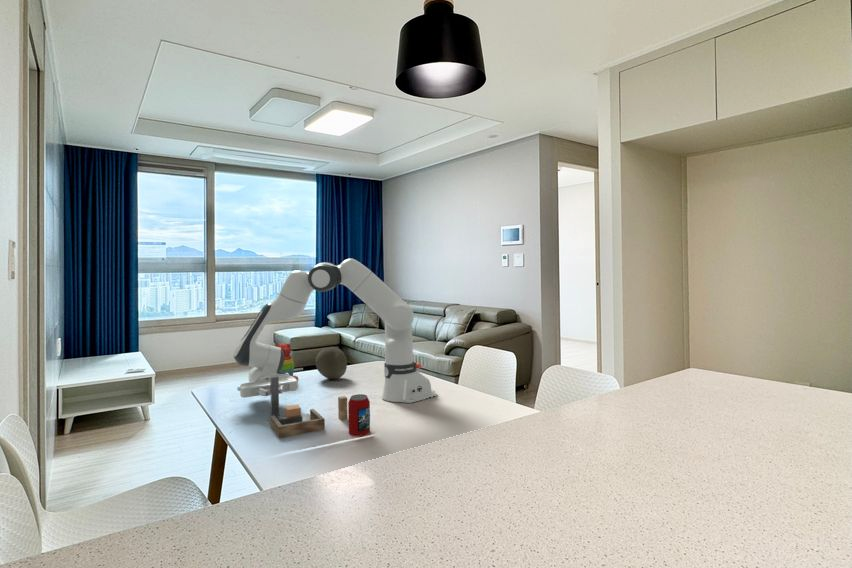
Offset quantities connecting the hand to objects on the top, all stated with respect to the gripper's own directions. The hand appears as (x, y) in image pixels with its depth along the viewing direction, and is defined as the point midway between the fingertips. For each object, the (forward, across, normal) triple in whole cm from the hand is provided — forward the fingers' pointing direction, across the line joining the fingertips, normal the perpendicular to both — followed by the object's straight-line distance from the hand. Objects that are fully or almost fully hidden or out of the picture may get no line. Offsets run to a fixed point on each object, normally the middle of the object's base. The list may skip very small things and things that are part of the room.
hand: (273, 392), depth 163 cm
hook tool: (+7, +3, +8) cm, 11 cm away
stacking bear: (-48, +15, +9) cm, 51 cm away
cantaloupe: (-40, +35, +9) cm, 54 cm away
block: (+8, +4, +8) cm, 13 cm away
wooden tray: (+14, +4, +9) cm, 17 cm away
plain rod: (+16, +20, +9) cm, 27 cm away
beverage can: (+31, +20, +9) cm, 38 cm away
